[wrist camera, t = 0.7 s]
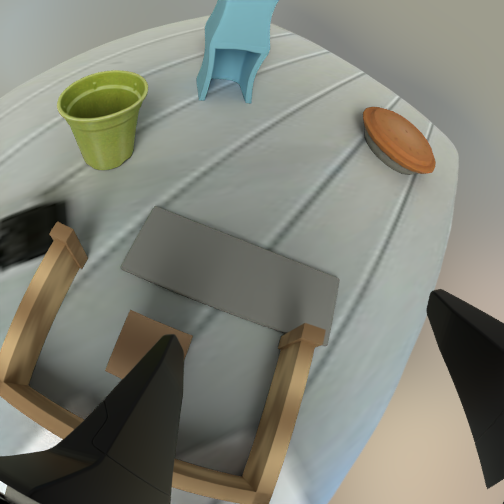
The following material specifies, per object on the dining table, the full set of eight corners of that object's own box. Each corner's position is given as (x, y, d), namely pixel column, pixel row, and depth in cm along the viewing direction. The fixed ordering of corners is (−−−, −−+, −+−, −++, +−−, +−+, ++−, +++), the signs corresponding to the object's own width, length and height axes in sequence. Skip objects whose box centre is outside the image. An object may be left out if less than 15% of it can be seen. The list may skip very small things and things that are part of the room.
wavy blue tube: (242, 78, 44) (276, -25, 26) (251, 103, 40) (294, -15, 23) (195, 75, 41) (220, -35, 24) (199, 100, 38) (228, -28, 21)
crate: (254, 491, 19) (274, 511, 14) (12, 388, 17) (-19, 383, 12) (299, 342, 26) (325, 329, 21) (73, 251, 24) (57, 221, 20)
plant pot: (75, 133, 30) (65, 77, 23) (144, 122, 33) (146, 65, 26) (68, 188, 27) (49, 128, 19) (150, 175, 30) (150, 112, 22)
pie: (352, 157, 41) (369, 134, 36) (354, 109, 48) (365, 89, 44) (429, 200, 42) (447, 182, 38) (418, 146, 50) (432, 130, 46)
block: (171, 396, 21) (170, 399, 16) (121, 375, 21) (105, 370, 16) (188, 348, 23) (192, 335, 18) (139, 328, 23) (130, 309, 18)
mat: (325, 346, 26) (327, 345, 26) (121, 269, 25) (120, 267, 24) (337, 280, 30) (339, 278, 30) (154, 208, 28) (154, 205, 28)
